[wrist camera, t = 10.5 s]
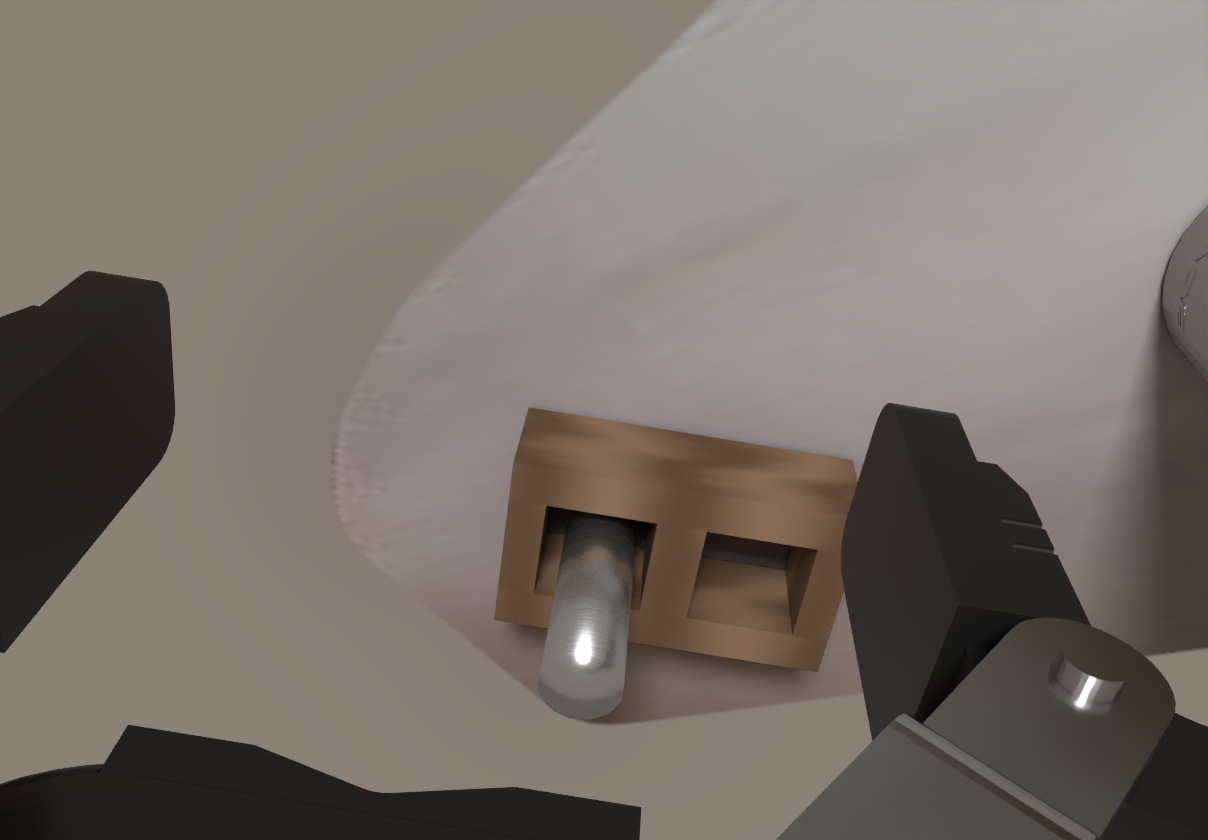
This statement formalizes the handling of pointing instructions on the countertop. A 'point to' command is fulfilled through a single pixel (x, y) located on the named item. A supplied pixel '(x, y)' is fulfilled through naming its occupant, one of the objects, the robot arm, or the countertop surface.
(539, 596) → the hole block
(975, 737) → the robot arm
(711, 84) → the countertop surface
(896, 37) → the countertop surface
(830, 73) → the countertop surface
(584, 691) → the peg
